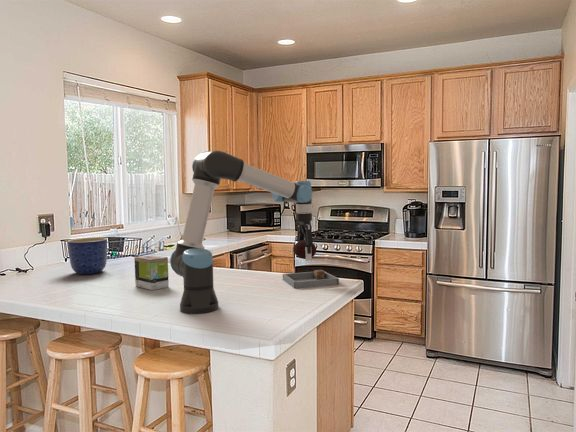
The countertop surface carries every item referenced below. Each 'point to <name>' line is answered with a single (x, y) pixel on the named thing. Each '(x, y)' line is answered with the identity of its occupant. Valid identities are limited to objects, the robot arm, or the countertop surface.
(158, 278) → the tea box
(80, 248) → the planter
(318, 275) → the walnut block
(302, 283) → the tray
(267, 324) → the countertop surface
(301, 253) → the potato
